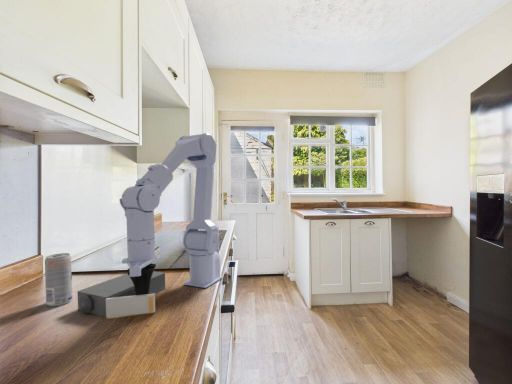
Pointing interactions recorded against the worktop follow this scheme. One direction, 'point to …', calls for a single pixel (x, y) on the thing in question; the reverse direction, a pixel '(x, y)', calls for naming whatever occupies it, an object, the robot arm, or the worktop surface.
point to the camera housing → (113, 292)
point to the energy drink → (58, 279)
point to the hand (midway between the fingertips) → (142, 298)
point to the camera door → (130, 305)
